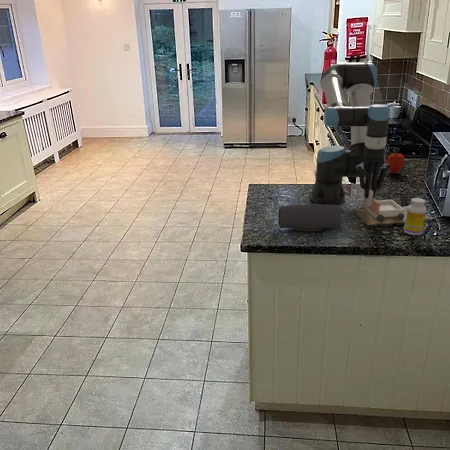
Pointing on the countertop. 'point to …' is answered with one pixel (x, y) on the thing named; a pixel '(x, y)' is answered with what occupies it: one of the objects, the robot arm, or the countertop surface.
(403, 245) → the countertop surface
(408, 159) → the door handle
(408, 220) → the supplement bottle
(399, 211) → the cart
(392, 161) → the apple
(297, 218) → the bluetooth speaker
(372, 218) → the cutting board
